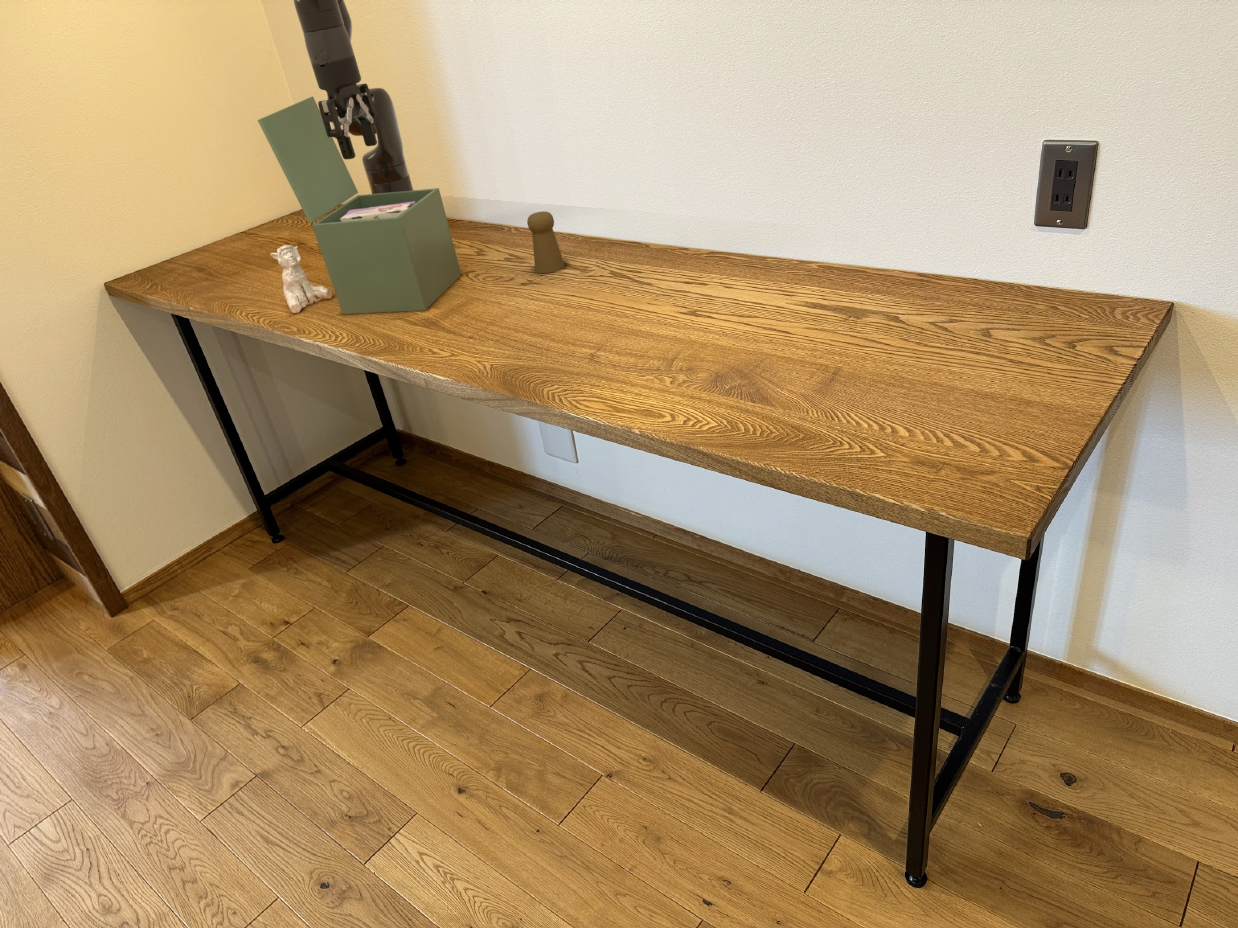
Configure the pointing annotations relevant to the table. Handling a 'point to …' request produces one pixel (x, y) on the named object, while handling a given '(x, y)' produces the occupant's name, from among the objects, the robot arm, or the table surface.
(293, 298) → the sitting furry creature
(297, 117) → the lid
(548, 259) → the brown game pawn
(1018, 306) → the table surface
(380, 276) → the chest
